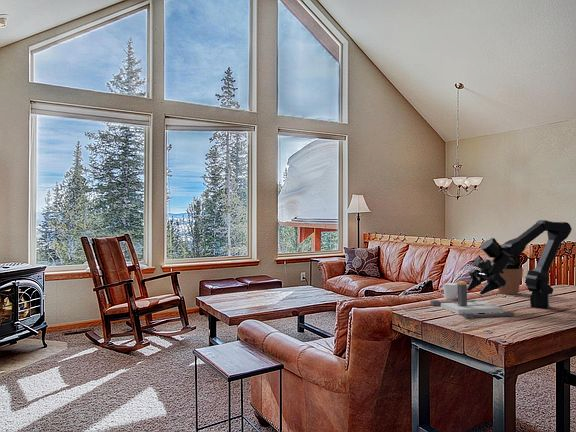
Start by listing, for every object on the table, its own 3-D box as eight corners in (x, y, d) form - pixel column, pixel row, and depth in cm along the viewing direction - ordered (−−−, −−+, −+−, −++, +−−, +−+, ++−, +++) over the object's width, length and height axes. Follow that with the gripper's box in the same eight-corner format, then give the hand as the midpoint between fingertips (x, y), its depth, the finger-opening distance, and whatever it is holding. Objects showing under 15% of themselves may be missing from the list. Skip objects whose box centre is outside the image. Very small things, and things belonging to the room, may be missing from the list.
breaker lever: (463, 304, 187) (462, 281, 187) (467, 305, 184) (466, 282, 184) (457, 304, 187) (457, 281, 187) (461, 305, 184) (461, 282, 184)
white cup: (459, 299, 210) (459, 285, 210) (444, 299, 211) (444, 284, 211) (456, 297, 217) (456, 282, 217) (442, 296, 218) (442, 282, 218)
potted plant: (490, 290, 235) (489, 243, 235) (517, 291, 233) (516, 243, 233) (498, 295, 221) (498, 245, 221) (527, 295, 219) (527, 245, 219)
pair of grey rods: (473, 302, 202) (473, 298, 202) (515, 316, 174) (515, 311, 174) (430, 304, 198) (430, 300, 198) (466, 318, 170) (466, 313, 170)
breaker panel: (482, 305, 195) (482, 301, 195) (503, 312, 181) (503, 307, 181) (440, 307, 191) (440, 302, 191) (458, 314, 178) (458, 309, 178)
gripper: (472, 250, 197) (449, 276, 195) (499, 253, 178) (474, 282, 176) (488, 267, 198) (466, 293, 196) (516, 272, 180) (492, 301, 178)
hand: (474, 292), depth 187 cm, fingers open, 9 cm apart
